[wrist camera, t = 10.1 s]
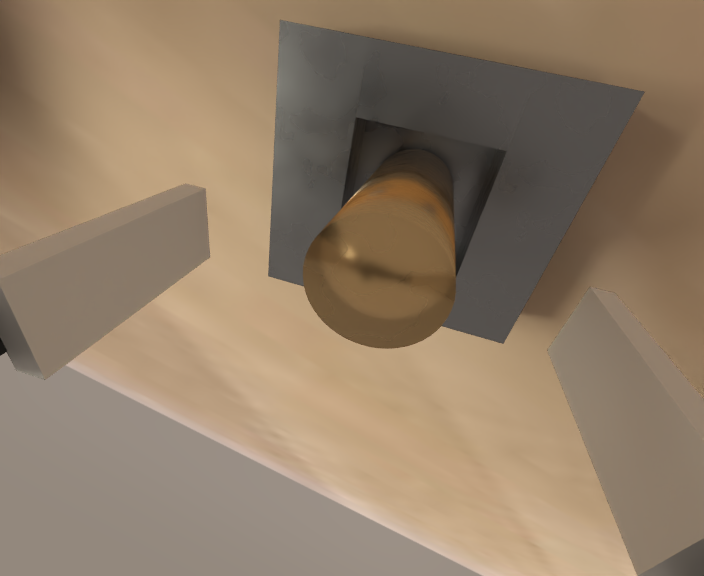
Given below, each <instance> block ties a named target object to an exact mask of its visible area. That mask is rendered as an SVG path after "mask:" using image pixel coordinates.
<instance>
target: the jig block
mask: <svg viewBox="0 0 704 576" xmlns="http://www.w3.org/2000/svg"><path fill="white" fill-rule="evenodd" d="M643 94H644V91H638V90H633V89H628V88H623V87H618V86H613V85H608V84H603V83H598V82H593V81H588V80H583V79H578V78H572V77H567V76H562V75H557V74H552V73H547V72H542V71H537V70H532V69H527V68H522V67H517V66H512V65H506V64H501V63H496V62H491V61H486V60H481V59H476V58H471V57H466V56H461V55H456V54H451V53H446V52H440V51H435V50H430V49H425V48H420V47H415V46H410V45H405V44H400V43H395V42H390V41H385V40H380V39H374V38H369V37H364V36H359V35H354V34H349V33H344V32H339V31H334V30H329V29H324V28H319V27H314V26H308V25H303V24H298V23H293V22H288V21H283V20H280V32H279V54H278V75H277V97H276V119H275V141H274V163H273V185H272V206H271V228H270V250H269V272H268V276H269V277H273V278H276V279H280V280H283V281H287V282H290V283H294V284H297V285H301V286H304V283H303V265H304V260H305V256H306V254H307V251H308V249H309V247H310V245H311V243H312V242H313V240H314V239H315V238H316V236H317V235H318V234H319V233H320V232H321V231H322V230H323V229H324V227H325V226H326V225H327V224H328V223H329V222H330V221H331V220H332V219H333V218H334V216H335V215H336V214H337V213H338V212H339V211H340V210H341V209H342V208H343V206H344V205H345V204H346V203H347V202H348V201H349V200H350V199H351V198H352V196H353V195H354V194H355V193H356V192H357V191H358V190H359V189H360V188H361V187H362V185H363V184H364V183H365V182H366V181H367V180H368V179H369V178H370V177H371V175H372V174H373V173H374V172H375V171H376V170H377V169H378V168H379V167H380V166H381V164H382V163H383V162H384V161H385V160H386V159H388V158H389V157H390V156H392V155H394V154H395V153H398V152H400V151H404V150H409V149H419V150H424V151H427V152H430V153H432V154H434V155H435V156H437V157H438V158H439V159H441V160H442V161H443V162H444V164H445V165H446V166H447V168H448V169H449V171H450V174H451V176H452V180H453V190H454V229H455V268H456V295H455V301H454V304H453V307H452V310H451V312H450V314H449V316H448V318H447V319H446V321H445V322H444V323H443V325H442V326H443V327H447V328H450V329H454V330H457V331H461V332H464V333H468V334H471V335H475V336H478V337H482V338H485V339H489V340H492V341H495V342H499V343H502V344H503V343H504V342H505V340H506V338H507V336H508V334H509V333H510V331H511V329H512V327H513V326H514V324H515V322H516V320H517V318H518V317H519V315H520V313H521V311H522V310H523V308H524V306H525V304H526V302H527V301H528V299H529V297H530V295H531V294H532V292H533V290H534V288H535V286H536V285H537V283H538V281H539V279H540V278H541V276H542V274H543V272H544V270H545V269H546V267H547V265H548V263H549V261H550V260H551V258H552V256H553V254H554V253H555V251H556V249H557V247H558V245H559V244H560V242H561V240H562V238H563V237H564V235H565V233H566V231H567V229H568V228H569V226H570V224H571V222H572V221H573V219H574V217H575V215H576V213H577V212H578V210H579V208H580V206H581V205H582V203H583V201H584V199H585V197H586V196H587V194H588V192H589V190H590V189H591V187H592V185H593V183H594V181H595V180H596V178H597V176H598V174H599V172H600V171H601V169H602V167H603V165H604V164H605V162H606V160H607V158H608V156H609V155H610V153H611V151H612V149H613V148H614V146H615V144H616V142H617V140H618V139H619V137H620V135H621V133H622V132H623V130H624V128H625V126H626V124H627V123H628V121H629V119H630V117H631V116H632V114H633V112H634V110H635V108H636V107H637V105H638V103H639V101H640V100H641V98H642V96H643Z"/></svg>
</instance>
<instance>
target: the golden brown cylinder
mask: <svg viewBox="0 0 704 576" xmlns="http://www.w3.org/2000/svg"><path fill="white" fill-rule="evenodd" d="M303 283H304V288H305V292H306V295H307V297H308V300H309V302H310V304H311V306H312V307H313V309H314V311H315V312H316V313H317V315H318V316H319V317H320V318H321V320H322V321H323V322H324V323H325V324H326V325H327V326H329V327H330V328H331V329H332V330H334V331H335V332H336V333H338V334H339V335H341V336H343V337H344V338H346V339H348V340H351V341H353V342H355V343H358V344H361V345H365V346H369V347H375V348H387V349H388V348H400V347H405V346H409V345H412V344H415V343H418V342H420V341H422V340H424V339H426V338H427V337H429V336H431V335H432V334H433V333H434V332H436V331H437V330H438V329H439V328H440V327H441V326H442V325H443V323H444V322H445V321H446V319H447V318H448V316H449V314H450V312H451V310H452V307H453V304H454V301H455V295H456V268H455V229H454V190H453V180H452V176H451V174H450V171H449V169H448V168H447V166H446V165H445V164H444V162H443V161H442V160H441V159H439V158H438V157H437V156H435V155H434V154H432V153H430V152H427V151H424V150H419V149H409V150H404V151H400V152H398V153H395V154H394V155H392V156H390V157H389V158H388V159H386V160H385V161H384V162H383V163H382V164H381V166H380V167H379V168H378V169H377V170H376V171H375V172H374V173H373V174H372V175H371V177H370V178H369V179H368V180H367V181H366V182H365V183H364V184H363V185H362V187H361V188H360V189H359V190H358V191H357V192H356V193H355V194H354V195H353V196H352V198H351V199H350V200H349V201H348V202H347V203H346V204H345V205H344V206H343V208H342V209H341V210H340V211H339V212H338V213H337V214H336V215H335V216H334V218H333V219H332V220H331V221H330V222H329V223H328V224H327V225H326V226H325V227H324V229H323V230H322V231H321V232H320V233H319V234H318V235H317V236H316V238H315V239H314V240H313V242H312V243H311V245H310V247H309V249H308V251H307V254H306V256H305V260H304V265H303Z"/></svg>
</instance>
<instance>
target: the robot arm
mask: <svg viewBox="0 0 704 576" xmlns="http://www.w3.org/2000/svg"><path fill="white" fill-rule="evenodd" d="M209 257H210V249H209V234H208V219H207V203H206V189H205V188H201V187H198V186H194V185H190V184H186V183H185V184H183V185H180V186H178V187H175V188H173V189H170V190H167V191H165V192H162V193H160V194H157V195H154V196H152V197H149V198H147V199H144V200H141V201H139V202H136V203H134V204H131V205H129V206H126V207H123V208H121V209H118V210H116V211H113V212H110V213H108V214H105V215H103V216H100V217H97V218H95V219H92V220H90V221H87V222H85V223H82V224H79V225H77V226H74V227H72V228H69V229H66V230H64V231H61V232H59V233H56V234H53V235H51V236H48V237H46V238H43V239H40V240H38V241H35V242H33V243H30V244H28V245H25V246H22V247H20V248H17V249H15V250H12V251H9V252H7V253H4V254H2V255H0V355H2V354H4V353H5V352H7V354H8V356H9V357H10V359H11V361H12V363H13V365H14V367H15V368H16V370H17V371H20V372H22V373H25V374H29V375H32V376H35V377H38V378H41V379H44V380H46V379H47V378H48V377H50V376H51V375H53V374H54V373H55V372H56V371H58V370H59V369H61V368H62V367H63V366H65V365H66V364H67V363H69V362H70V361H71V360H73V359H74V358H75V357H77V356H78V355H79V354H81V353H82V352H83V351H85V350H86V349H87V348H89V347H90V346H91V345H93V344H94V343H96V342H97V341H98V340H100V339H101V338H102V337H104V336H105V335H106V334H108V333H109V332H110V331H112V330H113V329H114V328H116V327H117V326H118V325H120V324H121V323H122V322H124V321H125V320H126V319H128V318H129V317H130V316H132V315H133V314H134V313H136V312H137V311H138V310H140V309H141V308H142V307H144V306H145V305H146V304H148V303H149V302H150V301H152V300H153V299H155V298H156V297H157V296H159V295H160V294H161V293H163V292H164V291H165V290H167V289H168V288H169V287H171V286H172V285H173V284H175V283H176V282H177V281H179V280H180V279H181V278H183V277H184V276H185V275H187V274H188V273H189V272H191V271H192V270H193V269H195V268H196V267H197V266H199V265H200V264H201V263H203V262H204V261H205V260H207V259H208V258H209ZM547 351H548V353H549V356H550V358H551V361H552V363H553V366H554V368H555V371H556V373H557V376H558V378H559V381H560V383H561V386H562V388H563V391H564V393H565V396H566V398H567V401H568V403H569V406H570V408H571V411H572V413H573V416H574V418H575V421H576V423H577V426H578V428H579V431H580V433H581V436H582V438H583V441H584V443H585V446H586V448H587V451H588V453H589V456H590V458H591V461H592V463H593V466H594V468H595V471H596V473H597V476H598V478H599V481H600V483H601V486H602V488H603V491H604V493H605V496H606V498H607V501H608V503H609V506H610V508H611V511H612V513H613V516H614V518H615V521H616V523H617V526H618V528H619V531H620V533H621V536H622V538H623V541H624V543H625V546H626V548H627V551H628V553H629V556H630V558H631V561H632V563H633V566H634V568H635V571H636V573H637V576H704V399H703V398H702V396H701V395H700V394H699V393H698V392H697V390H696V389H695V388H694V387H693V386H692V384H691V383H690V382H689V381H688V380H687V378H686V377H685V376H684V375H683V374H682V372H681V371H680V370H679V369H678V368H677V366H676V365H675V364H674V363H673V362H672V361H671V359H670V358H669V357H668V356H667V355H666V353H665V352H664V351H663V350H662V349H661V347H660V346H659V345H658V344H657V343H656V341H655V340H654V339H653V338H652V337H651V335H650V334H649V333H648V332H647V331H646V329H645V328H644V327H643V326H642V325H641V323H640V322H639V321H638V320H637V319H636V317H635V316H634V315H633V314H632V313H631V311H630V310H629V309H628V308H627V307H626V305H625V304H624V303H623V302H622V301H621V299H620V298H619V297H618V296H617V295H616V293H613V292H609V291H605V290H601V289H597V288H593V287H589V289H588V290H587V292H586V293H585V295H584V296H583V298H582V299H581V301H580V302H579V304H578V305H577V307H576V308H575V310H574V311H573V313H572V314H571V315H570V317H569V318H568V320H567V321H566V323H565V324H564V326H563V327H562V329H561V330H560V332H559V333H558V335H557V336H556V338H555V339H554V341H553V342H552V344H551V345H550V347H549V348H548V350H547Z"/></svg>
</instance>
